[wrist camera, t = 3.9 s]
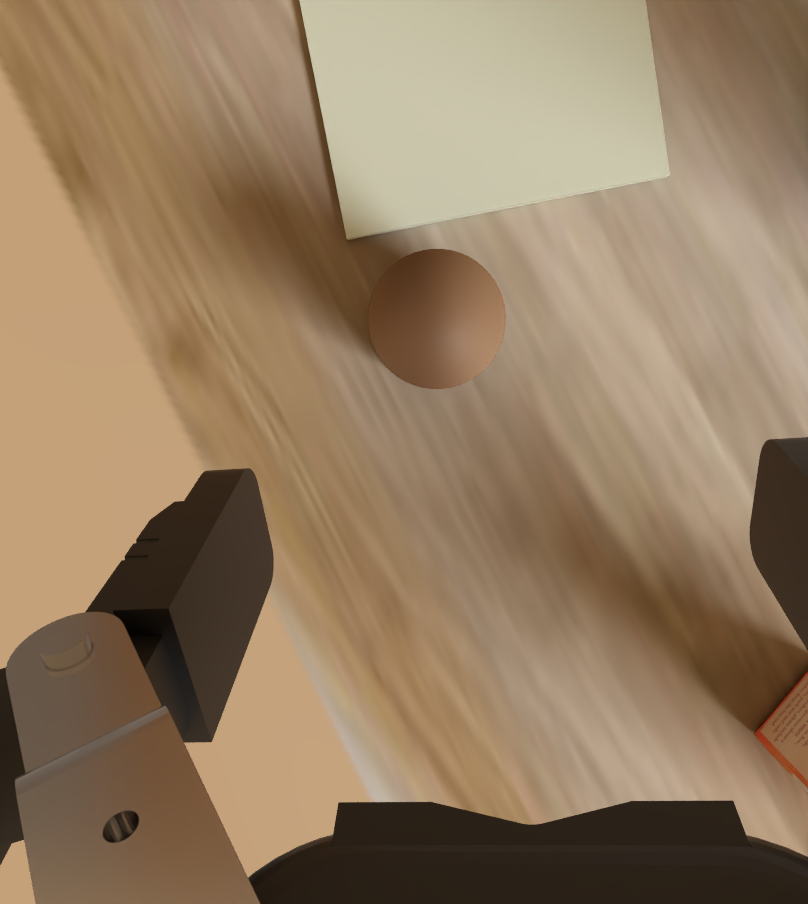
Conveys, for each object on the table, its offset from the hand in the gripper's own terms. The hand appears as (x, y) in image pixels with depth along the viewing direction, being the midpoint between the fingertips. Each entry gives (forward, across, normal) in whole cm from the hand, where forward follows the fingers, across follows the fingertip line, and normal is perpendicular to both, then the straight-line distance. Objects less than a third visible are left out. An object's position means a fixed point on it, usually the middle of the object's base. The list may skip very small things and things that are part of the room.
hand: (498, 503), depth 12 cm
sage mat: (+29, -1, -7) cm, 30 cm away
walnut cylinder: (+25, +3, +5) cm, 25 cm away
